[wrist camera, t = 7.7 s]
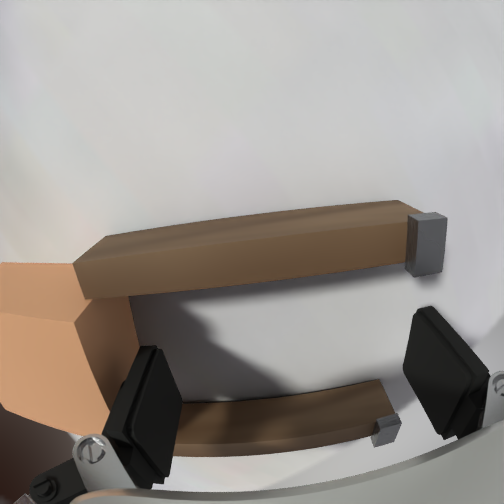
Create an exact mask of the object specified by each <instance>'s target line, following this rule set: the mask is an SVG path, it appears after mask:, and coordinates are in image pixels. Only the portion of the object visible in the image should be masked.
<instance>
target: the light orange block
mask: <svg viewBox="0 0 504 504" xmlns="http://www.w3.org/2000/svg"><path fill="white" fill-rule="evenodd" d="M139 348H140V345H139V341H138V337H137V333H136V329H135V325H134V320H133V316H132V311H131V307H130V302H129V297H128V296H123V297H111V298H98V299H85V298H84V296H83V293H82V290H81V287H80V284H79V282H78V279H77V276H76V273H75V270H74V267H73V264H60V263H8V262H2V263H1V264H0V402H1V403H2V405H3V407H4V408H5V409H6V410H8V411H11V412H13V413H15V414H18V415H20V416H23V417H25V418H28V419H31V420H34V421H36V422H39V423H42V424H45V425H48V426H51V427H54V428H57V429H61V430H63V431H67V432H70V433H74V434H77V435H81V436H85V435H88V434H100V435H101V434H102V431H103V428H104V426H105V423H106V421H107V418H108V416H109V413H110V411H111V408H112V406H113V403H114V401H115V399H116V396H117V394H118V391H119V389H120V387H121V384H122V383H123V381H125V380H126V378H127V375H128V373H129V371H130V368H131V366H132V364H133V362H134V359H135V357H136V355H137V352H138V350H139Z"/></svg>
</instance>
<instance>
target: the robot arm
mask: <svg viewBox="0 0 504 504" xmlns="http://www.w3.org/2000/svg"><path fill="white" fill-rule="evenodd" d="M403 372H404V374H405V376H406V378H407V380H408V381H409V383H410V385H411V387H412V388H413V390H414V392H415V394H416V396H417V397H418V399H419V401H420V403H421V405H422V406H423V408H424V410H425V412H426V414H427V416H428V417H429V419H430V421H431V423H432V425H433V427H434V429H435V431H436V432H437V434H439V435H440V434H441V435H442V437H443V439H444V440H446V439H448V438H450V437H452V436H455V435H456V436H457V438H458V440H456V441H454V442H452V443H450V444H447V445H445V446H442V447H440V448H438V449H435V450H433V451H430V452H428V453H425V454H423V455H420V456H417V457H414V458H412V459H409V460H406V461H403V462H400V463H397V464H394V465H391V466H388V467H384V468H381V469H378V470H374V471H370V472H367V473H363V474H359V475H355V476H351V477H346V478H342V479H338V480H332V481H328V482H322V483H316V484H311V485H304V486H298V487H290V488H282V489H272V490H260V491H244V492H183V491H167V490H152V489H151V488H152V485H153V483H156V484H164V479H165V477H169V474H170V469H171V463H172V458H173V452H174V447H175V441H176V436H177V430H178V425H179V420H180V415H181V410H182V398H181V395H180V393H179V391H178V388H177V386H176V383H175V381H174V378H173V376H172V374H171V371H170V368H169V366H168V363H167V361H166V358H165V356H164V353H163V351H162V349H158V347H157V346H155V345H152V346H141V347H140V348H139V350H138V352H137V355H136V357H135V359H134V362H133V364H132V366H131V368H130V371H129V373H128V375H127V378H126V380H125V381H123V383H122V384H121V387H120V389H119V391H118V394H117V396H116V399H115V401H114V403H113V406H112V408H111V411H110V413H109V416H108V418H107V421H106V423H105V426H104V428H103V431H102V434H101V435H100V434H88V435H85V436H83V437H82V438H80V439H79V440H78V441H77V442H76V444H75V446H74V448H73V458H72V459H70V460H68V461H66V462H64V463H62V464H60V465H58V466H56V467H54V468H52V469H50V470H48V471H46V472H44V473H42V474H40V475H38V476H36V477H35V478H34V479H33V481H32V482H31V485H30V494H29V495H28V496H27V495H26V494H24V495H23V496H22V497H21V498H20V499H18V500H17V501H16V502H15V503H14V504H504V371H499V372H496V373H494V374H493V375H492V376H490V374H489V373H488V372H489V370H488V369H487V367H486V366H485V365H484V364H483V362H482V361H481V360H480V359H479V358H478V356H477V355H476V354H475V353H474V352H473V351H472V349H471V348H470V347H469V346H468V345H467V344H466V342H465V341H464V340H463V339H462V338H461V337H460V336H459V334H458V333H457V332H456V331H455V330H454V329H453V328H452V327H451V326H450V324H449V323H448V322H447V321H446V320H445V319H444V318H443V317H442V316H441V315H440V314H439V313H438V311H437V310H436V309H435V308H434V307H432V306H428V307H424V308H419V309H418V310H417V311H416V313H415V314H414V315H413V318H412V324H411V330H410V335H409V340H408V345H407V350H406V354H405V359H404V363H403Z"/></svg>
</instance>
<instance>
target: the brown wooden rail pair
mask: <svg viewBox="0 0 504 504" xmlns="http://www.w3.org/2000/svg"><path fill="white" fill-rule="evenodd" d="M446 231H447V217H445V216H443V215H441V214H439V213H437V212H432V213H423V212H421V211H419V210H417V209H415V208H413V207H411V206H409V205H407V204H405V203H403V202H401V201H398V200H392V201H380V202H368V203H357V204H346V205H335V206H325V207H316V208H306V209H297V210H288V211H279V212H270V213H262V214H254V215H246V216H238V217H230V218H222V219H215V220H208V221H200V222H193V223H186V224H179V225H173V226H166V227H159V228H153V229H146V230H140V231H134V232H128V233H121V234H115V235H110V236H105V237H104V238H103V239H101V240H100V241H99V242H98V243H96V244H95V245H94V246H93V247H92V248H90V249H89V250H88V251H87V252H85V253H84V254H83V255H82V256H81V257H79V258H78V259H77V260H76V261H75V262H73V263H72V264H73V267H74V270H75V273H76V276H77V279H78V282H79V284H80V287H81V290H82V293H83V296H84V298H85V299H98V298H111V297H123V296H135V295H146V294H157V293H168V292H178V291H188V290H198V289H207V288H216V287H225V286H234V285H243V284H252V283H260V282H268V281H276V280H284V279H292V278H300V277H307V276H315V275H322V274H329V273H337V272H344V271H351V270H358V269H364V268H371V267H378V266H384V265H391V264H397V263H403V262H405V268H404V269H406V270H407V271H408V272H409V273H410V274H411V275H412V276H413V277H419V276H424V275H430V274H435V273H440V272H442V267H443V259H444V251H445V242H446ZM401 424H402V423H401V420H400V418H399V416H398V414H397V413H396V414H395V412H394V410H393V407H392V405H391V403H390V401H389V399H388V397H387V394H386V392H385V390H384V388H383V386H382V384H381V382H380V380H379V379H378V380H373V381H369V382H365V383H360V384H356V385H351V386H346V387H341V388H336V389H331V390H325V391H319V392H313V393H307V394H300V395H293V396H286V397H278V398H269V399H260V400H249V401H236V402H220V403H193V404H182V410H181V415H180V420H179V425H178V430H177V436H176V441H175V447H174V452H173V456H183V457H230V456H249V455H263V454H273V453H282V452H290V451H298V450H305V449H311V448H317V447H323V446H328V445H333V444H338V443H343V442H347V441H352V440H356V439H360V438H364V437H368V436H371V440H372V443H373V446H374V447H378V446H381V445H385V444H388V443H391V442H394V440H395V438H396V436H397V433H398V431H399V429H400V426H401Z"/></svg>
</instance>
